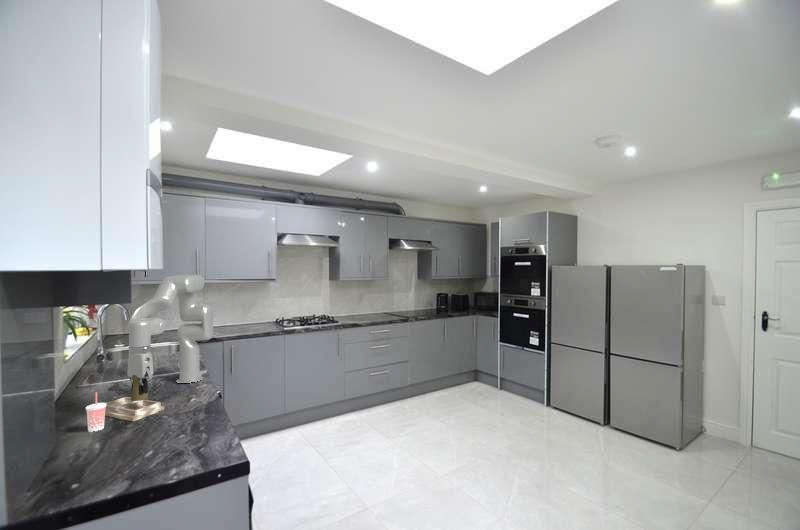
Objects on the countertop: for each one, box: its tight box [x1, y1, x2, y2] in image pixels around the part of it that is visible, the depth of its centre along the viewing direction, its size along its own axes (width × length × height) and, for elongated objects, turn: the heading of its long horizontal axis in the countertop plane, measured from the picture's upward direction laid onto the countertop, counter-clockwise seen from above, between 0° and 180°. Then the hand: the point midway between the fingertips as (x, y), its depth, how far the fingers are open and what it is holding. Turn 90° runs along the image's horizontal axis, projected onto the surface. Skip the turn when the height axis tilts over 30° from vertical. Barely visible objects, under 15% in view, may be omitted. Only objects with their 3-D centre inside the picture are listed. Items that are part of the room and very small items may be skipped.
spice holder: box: [105, 396, 165, 422], centre depth 153 cm, size 13×24×4 cm, turn 69°
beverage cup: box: [85, 391, 107, 433], centre depth 136 cm, size 6×6×14 cm
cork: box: [130, 375, 149, 401], centre depth 151 cm, size 6×6×11 cm
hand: (139, 393), depth 151 cm, fingers closed on cork, 4 cm apart
